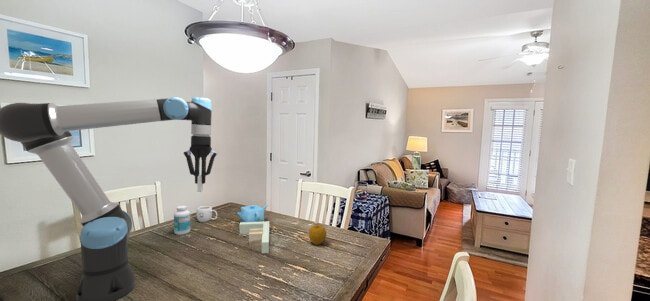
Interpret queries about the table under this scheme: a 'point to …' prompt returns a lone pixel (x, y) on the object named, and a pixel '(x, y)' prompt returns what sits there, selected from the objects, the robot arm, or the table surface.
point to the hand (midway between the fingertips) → (200, 191)
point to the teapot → (252, 213)
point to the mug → (205, 213)
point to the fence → (246, 226)
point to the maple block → (255, 237)
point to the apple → (317, 234)
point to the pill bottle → (181, 220)
